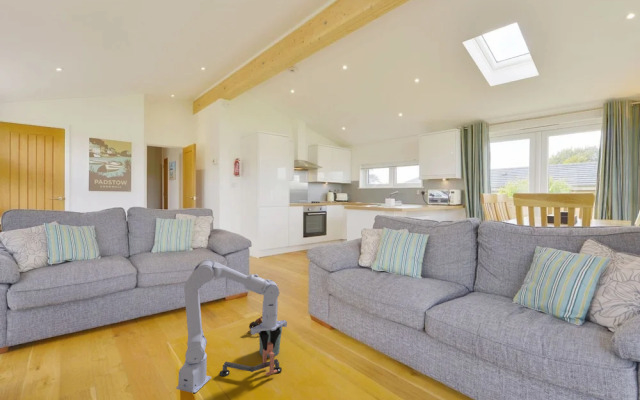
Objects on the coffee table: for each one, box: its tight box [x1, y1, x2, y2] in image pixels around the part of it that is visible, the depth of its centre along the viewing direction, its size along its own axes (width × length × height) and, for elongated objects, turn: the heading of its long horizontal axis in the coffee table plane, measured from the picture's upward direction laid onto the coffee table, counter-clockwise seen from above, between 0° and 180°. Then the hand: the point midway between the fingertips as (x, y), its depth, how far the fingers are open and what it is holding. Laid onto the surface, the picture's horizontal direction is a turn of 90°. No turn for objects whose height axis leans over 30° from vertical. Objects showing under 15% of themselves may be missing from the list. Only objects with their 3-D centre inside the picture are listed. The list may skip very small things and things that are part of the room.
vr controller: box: [248, 316, 262, 330], centre depth 154 cm, size 12×10×8 cm
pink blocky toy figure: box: [261, 342, 278, 376], centre depth 119 cm, size 4×7×10 cm, turn 36°
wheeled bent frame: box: [219, 358, 282, 377], centre depth 119 cm, size 12×22×4 cm, turn 76°
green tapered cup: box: [258, 323, 283, 358], centre depth 135 cm, size 10×10×12 cm
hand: (268, 348), depth 119 cm, fingers closed on pink blocky toy figure, 2 cm apart
